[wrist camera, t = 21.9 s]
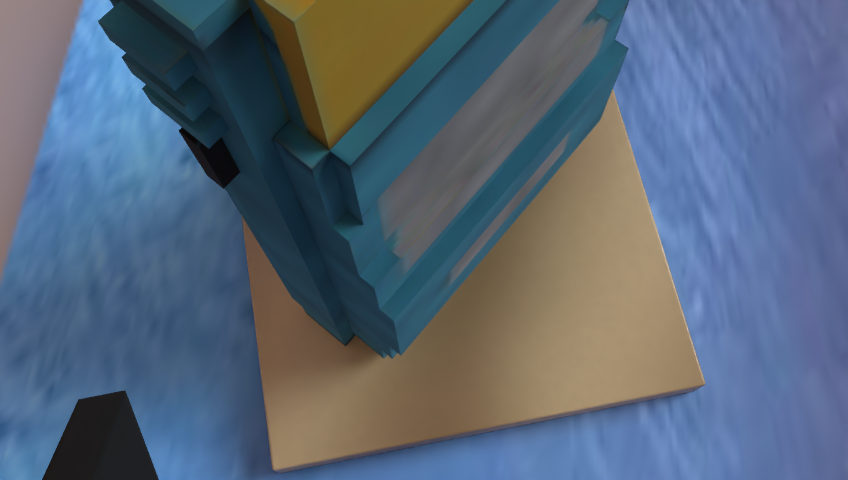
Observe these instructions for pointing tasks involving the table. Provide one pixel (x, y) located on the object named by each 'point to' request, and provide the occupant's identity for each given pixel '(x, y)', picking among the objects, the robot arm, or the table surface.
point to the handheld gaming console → (376, 131)
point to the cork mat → (493, 329)
